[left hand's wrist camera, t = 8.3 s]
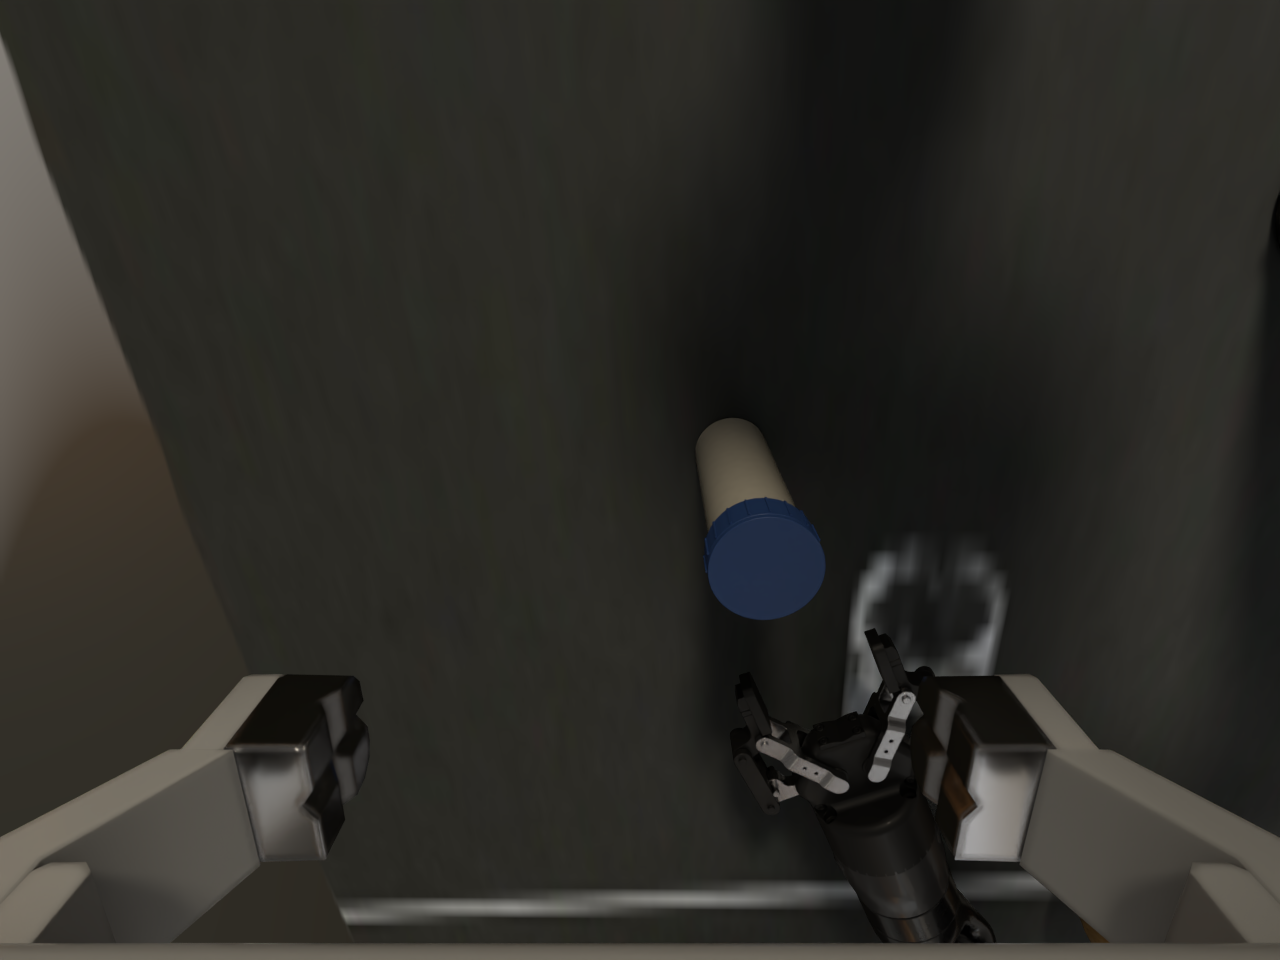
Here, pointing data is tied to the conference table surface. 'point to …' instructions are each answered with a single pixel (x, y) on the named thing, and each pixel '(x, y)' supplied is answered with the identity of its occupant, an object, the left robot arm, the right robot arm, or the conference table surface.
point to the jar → (736, 467)
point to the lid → (763, 559)
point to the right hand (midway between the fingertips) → (808, 659)
